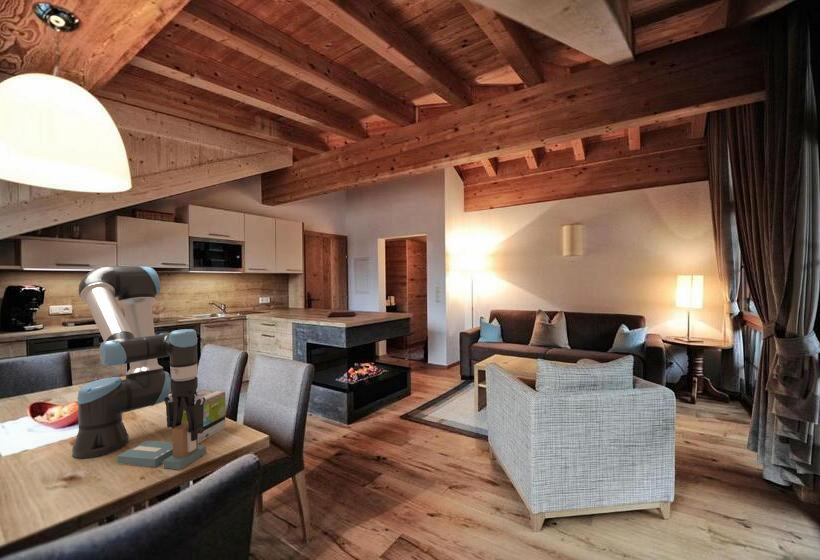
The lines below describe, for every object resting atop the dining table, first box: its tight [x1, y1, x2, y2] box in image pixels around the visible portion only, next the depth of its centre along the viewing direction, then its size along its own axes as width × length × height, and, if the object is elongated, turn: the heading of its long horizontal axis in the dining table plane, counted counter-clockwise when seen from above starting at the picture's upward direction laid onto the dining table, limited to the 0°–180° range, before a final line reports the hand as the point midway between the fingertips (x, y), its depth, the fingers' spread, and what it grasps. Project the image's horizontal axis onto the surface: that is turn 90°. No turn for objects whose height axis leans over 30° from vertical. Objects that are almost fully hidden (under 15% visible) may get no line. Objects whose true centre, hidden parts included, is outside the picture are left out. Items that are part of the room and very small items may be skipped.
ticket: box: [116, 439, 173, 468], centre depth 122 cm, size 14×11×3 cm
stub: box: [162, 421, 207, 471], centre depth 119 cm, size 6×11×11 cm, turn 169°
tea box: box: [181, 389, 226, 444], centre depth 138 cm, size 15×10×15 cm
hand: (185, 449), depth 119 cm, fingers closed on stub, 4 cm apart
